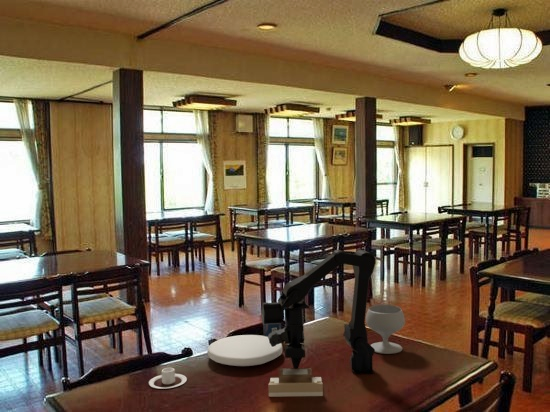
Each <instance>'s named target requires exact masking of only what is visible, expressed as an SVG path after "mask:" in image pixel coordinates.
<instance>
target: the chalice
mask: <svg viewBox="0 0 550 412" xmlns="http://www.w3.org/2000/svg"><path fill="white" fill-rule="evenodd" d="M405 324H406V318H405V314H404V311H403V310H402V308H401V307H400V306H396V305H392V304H374V305H372V306H369V308H367V310H366V315H365V325H366V326H367V327H368V328H369V329H370V330H371V331H374V332H376V333H377V334H379V335H380V336H381V338H382V341H379V342H374V343H372V344H370V345H371V346H372V347H373V348H374V349H375V352H374V353H378V354H383V355H387V354H388V355H391V354H397V353H401V352H402V351H403V349H404V348H403V347H402V346H401V344H398V343H395V342H391V341H389V337H390V336H391V335H394V334H395V333H397V332H399V331H401V330H402V329H403V328H404V326H405Z"/></svg>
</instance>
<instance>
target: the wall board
mask: <svg viewBox="0 0 550 412" xmlns="http://www.w3.org/2000/svg"><path fill="white" fill-rule="evenodd" d="M269 379H270V380H269V383H268V385H267V386H268V397H271V398H272V397H276V398H277V397H278V398H279V397H323V396H324V384H323V383H324V382H322V381H323V380H322V377H321V376H315V377H314V376H312V383H279V377H270V378H269Z"/></svg>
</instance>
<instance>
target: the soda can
mask: <svg viewBox="0 0 550 412" xmlns="http://www.w3.org/2000/svg"><path fill="white" fill-rule="evenodd" d="M262 326H263V336H266V337H268V335H269V334H270V333H272V332H275V331H277V330H280V329H282V322H281V323H280V324H267V325H263V324H262Z"/></svg>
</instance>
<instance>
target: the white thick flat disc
mask: <svg viewBox="0 0 550 412" xmlns="http://www.w3.org/2000/svg"><path fill="white" fill-rule="evenodd" d="M282 353H283V343H280V344H277V345H276V346H274V347H272V346H271V344H270V343H269V339H268V337H266V336H264V335H259V334H242V335H241V334H240V335H233V336H232V335H231V336H228V337H223V338H220V339H218V340H217V339H216V341H214V342H212V343H210V344H209V346H208V347H207V355H208V356H207V357H208V358H209V359H211V360H212V361H213V362H215V363H219V364H221V365H228V366H236V367H250V366H252V367H253V366H258V365H259V366H260V365H263V364H265V363H266V364H267V363H268V362H270V361H273V360H275V359H276V358H278V357H279V356H281V355H282Z"/></svg>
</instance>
